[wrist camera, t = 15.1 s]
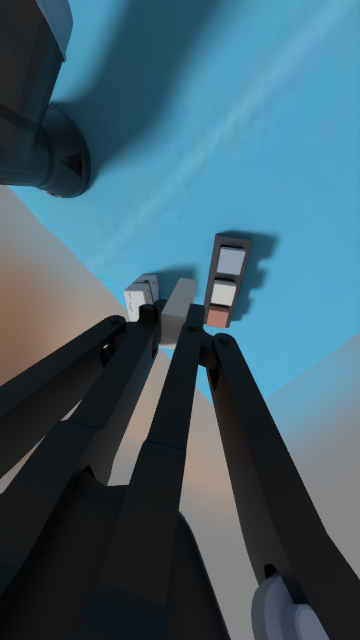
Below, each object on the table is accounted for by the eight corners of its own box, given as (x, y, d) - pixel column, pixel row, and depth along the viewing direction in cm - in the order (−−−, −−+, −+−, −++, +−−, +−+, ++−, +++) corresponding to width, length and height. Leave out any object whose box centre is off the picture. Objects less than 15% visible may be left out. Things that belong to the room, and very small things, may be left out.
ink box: (161, 301, 56) (149, 323, 46) (145, 301, 57) (130, 322, 47) (157, 274, 51) (142, 291, 42) (140, 274, 52) (122, 290, 43)
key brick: (224, 317, 54) (224, 328, 49) (207, 315, 54) (206, 325, 50) (227, 303, 51) (228, 312, 46) (210, 300, 52) (209, 309, 47)
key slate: (237, 267, 44) (239, 275, 40) (217, 265, 45) (216, 272, 40) (242, 246, 42) (245, 251, 37) (221, 244, 42) (221, 248, 38)
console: (228, 321, 55) (229, 328, 52) (201, 317, 56) (200, 323, 53) (250, 238, 43) (252, 240, 40) (215, 234, 44) (215, 236, 41)
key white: (230, 296, 48) (231, 305, 44) (211, 293, 49) (211, 302, 45) (234, 278, 46) (236, 286, 41) (215, 275, 46) (214, 283, 42)
